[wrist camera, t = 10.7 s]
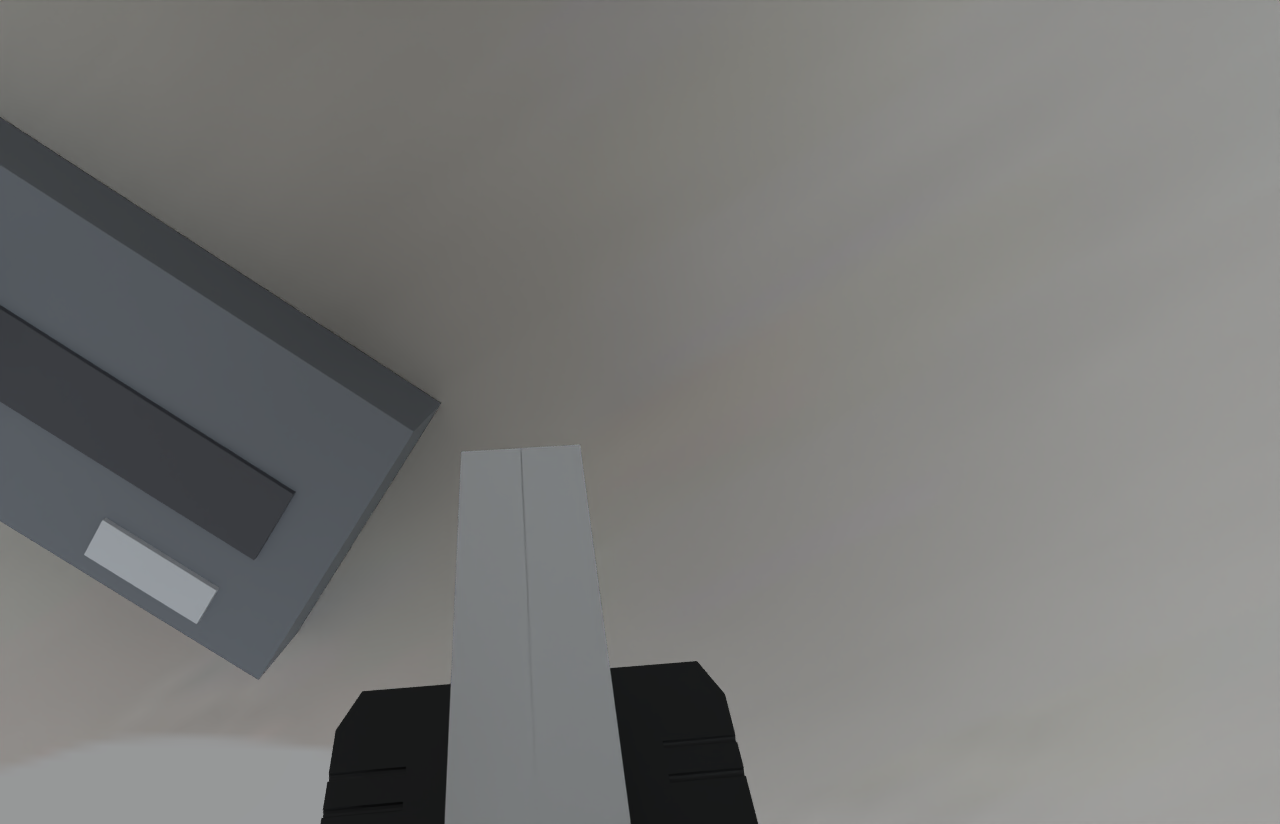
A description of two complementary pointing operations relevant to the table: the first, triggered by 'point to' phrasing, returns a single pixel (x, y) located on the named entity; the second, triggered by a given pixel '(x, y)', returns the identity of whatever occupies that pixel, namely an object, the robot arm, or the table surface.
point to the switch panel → (179, 415)
